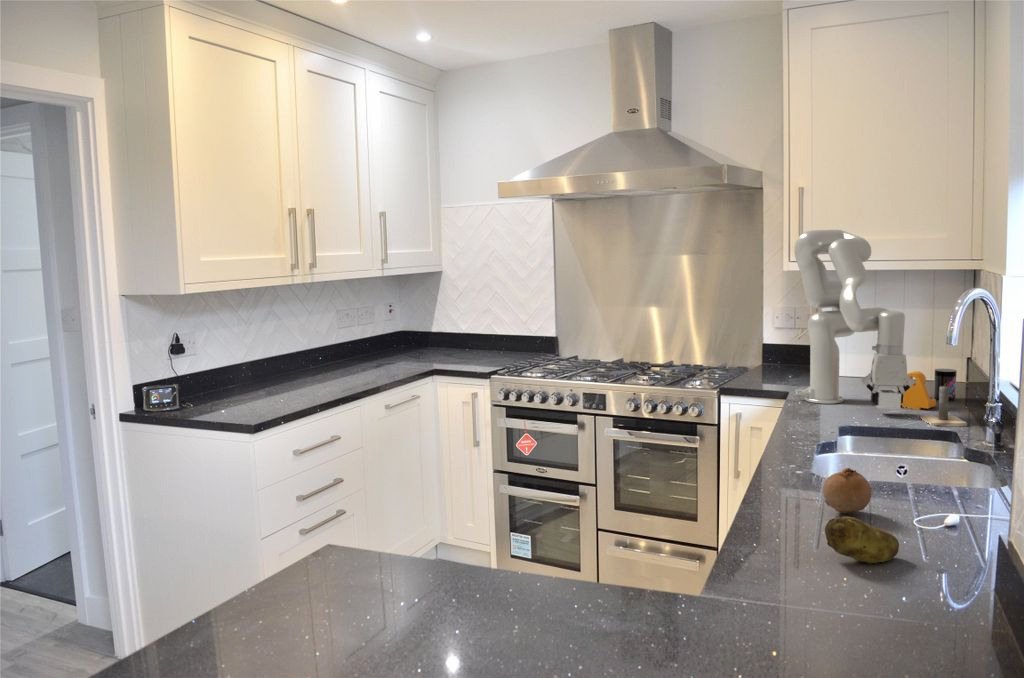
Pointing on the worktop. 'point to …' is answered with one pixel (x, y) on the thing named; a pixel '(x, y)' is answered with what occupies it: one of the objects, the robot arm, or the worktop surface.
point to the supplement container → (945, 382)
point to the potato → (860, 540)
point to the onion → (847, 491)
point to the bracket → (917, 393)
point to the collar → (888, 399)
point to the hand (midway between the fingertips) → (886, 404)
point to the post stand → (943, 412)
